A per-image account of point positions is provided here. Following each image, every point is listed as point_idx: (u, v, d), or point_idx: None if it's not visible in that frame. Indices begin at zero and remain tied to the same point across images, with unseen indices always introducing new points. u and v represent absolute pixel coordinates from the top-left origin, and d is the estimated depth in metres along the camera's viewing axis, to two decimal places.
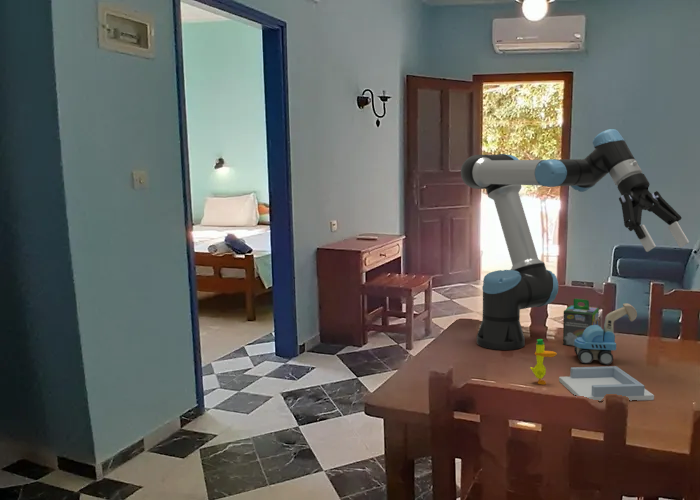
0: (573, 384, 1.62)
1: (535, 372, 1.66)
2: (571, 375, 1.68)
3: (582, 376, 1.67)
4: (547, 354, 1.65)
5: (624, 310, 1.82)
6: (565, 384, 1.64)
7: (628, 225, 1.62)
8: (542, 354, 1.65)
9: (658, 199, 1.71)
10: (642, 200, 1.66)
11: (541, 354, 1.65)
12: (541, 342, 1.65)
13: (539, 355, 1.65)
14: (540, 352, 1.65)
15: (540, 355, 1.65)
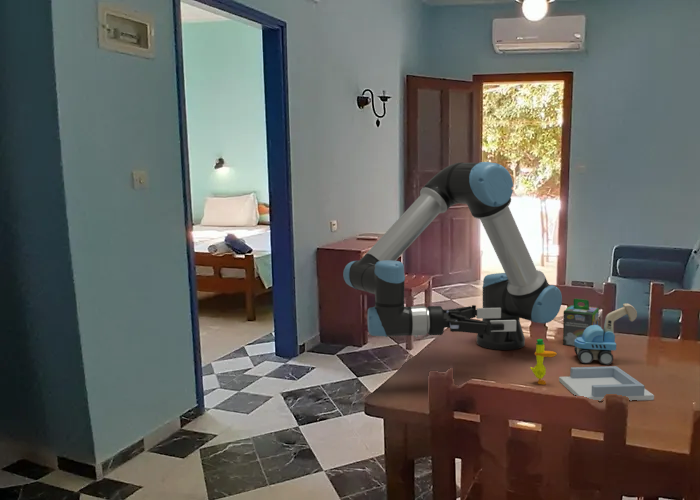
0: (573, 384, 1.62)
1: (535, 372, 1.66)
2: (571, 375, 1.68)
3: (582, 376, 1.67)
4: (547, 354, 1.65)
5: (624, 310, 1.82)
6: (565, 384, 1.64)
7: None
8: (542, 354, 1.65)
9: None
10: None
11: (541, 354, 1.65)
12: (541, 342, 1.65)
13: (539, 355, 1.65)
14: (540, 352, 1.65)
15: (540, 355, 1.65)
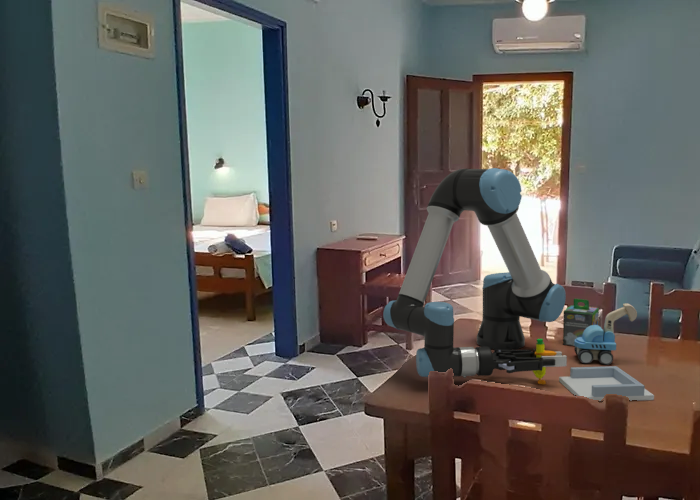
0: (573, 384, 1.62)
1: (535, 372, 1.66)
2: (571, 375, 1.68)
3: (582, 376, 1.67)
4: (547, 354, 1.65)
5: (624, 310, 1.82)
6: (565, 384, 1.64)
7: None
8: (542, 354, 1.65)
9: None
10: None
11: (541, 354, 1.65)
12: (541, 342, 1.65)
13: (539, 355, 1.65)
14: (540, 352, 1.65)
15: (540, 355, 1.65)
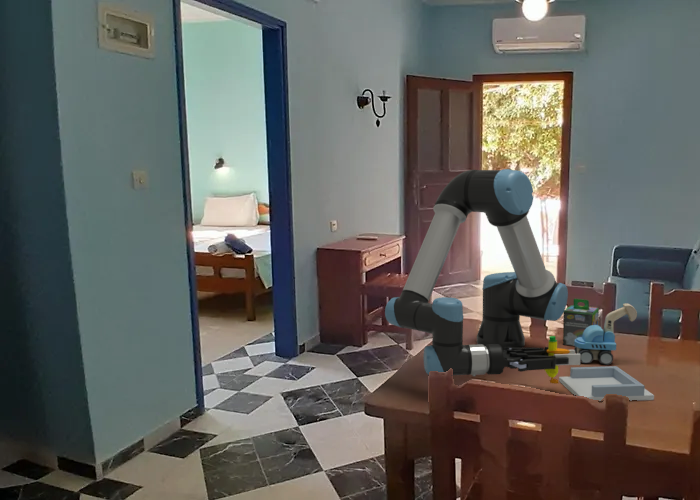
0: (573, 384, 1.62)
1: (547, 370, 1.60)
2: (571, 375, 1.68)
3: (582, 376, 1.67)
4: (560, 352, 1.58)
5: (624, 310, 1.82)
6: (565, 384, 1.64)
7: None
8: (555, 352, 1.58)
9: None
10: None
11: (554, 352, 1.58)
12: (553, 339, 1.59)
13: (551, 353, 1.59)
14: (553, 350, 1.58)
15: (553, 353, 1.59)
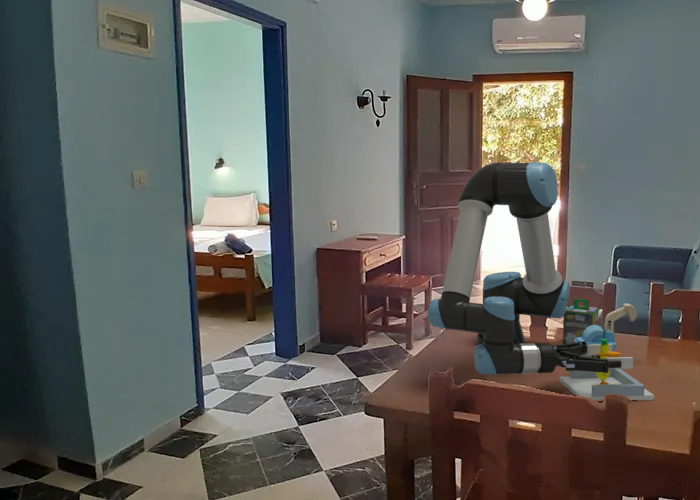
0: (573, 384, 1.62)
1: (599, 373, 1.60)
2: (571, 375, 1.68)
3: (582, 376, 1.67)
4: (612, 354, 1.59)
5: (624, 310, 1.82)
6: (565, 384, 1.64)
7: None
8: (607, 355, 1.59)
9: None
10: None
11: (606, 355, 1.59)
12: (606, 342, 1.60)
13: (604, 356, 1.60)
14: (605, 352, 1.59)
15: (605, 356, 1.60)
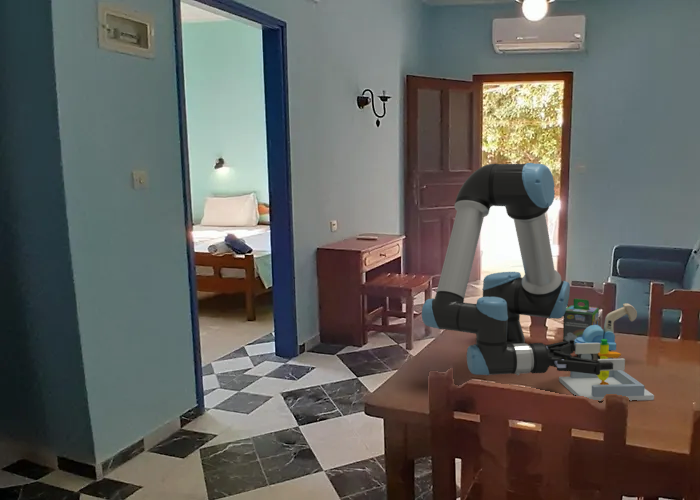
0: (573, 384, 1.62)
1: (599, 374, 1.60)
2: (571, 375, 1.68)
3: (582, 376, 1.67)
4: (612, 355, 1.59)
5: (624, 310, 1.82)
6: (565, 384, 1.64)
7: None
8: (607, 355, 1.59)
9: None
10: None
11: (606, 355, 1.59)
12: (606, 342, 1.59)
13: (604, 356, 1.60)
14: (605, 353, 1.59)
15: (605, 356, 1.59)
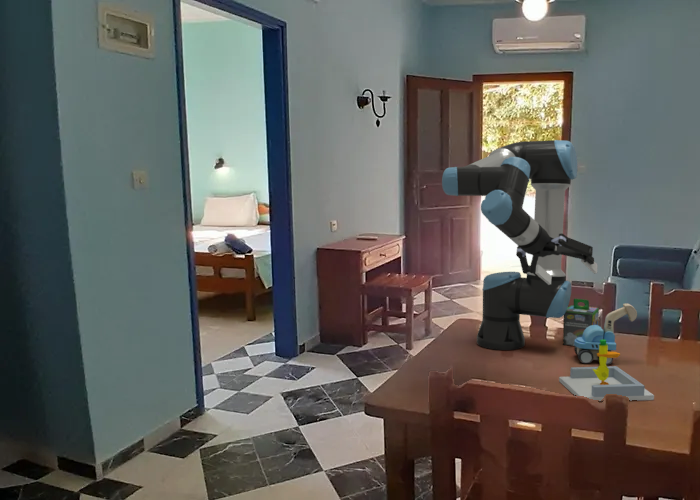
0: (573, 384, 1.62)
1: (598, 374, 1.60)
2: (571, 375, 1.68)
3: (582, 376, 1.67)
4: (611, 355, 1.59)
5: (624, 310, 1.82)
6: (565, 384, 1.64)
7: None
8: (606, 355, 1.59)
9: None
10: (536, 257, 1.64)
11: (605, 355, 1.59)
12: (604, 343, 1.59)
13: (603, 356, 1.59)
14: (604, 353, 1.59)
15: (604, 356, 1.59)
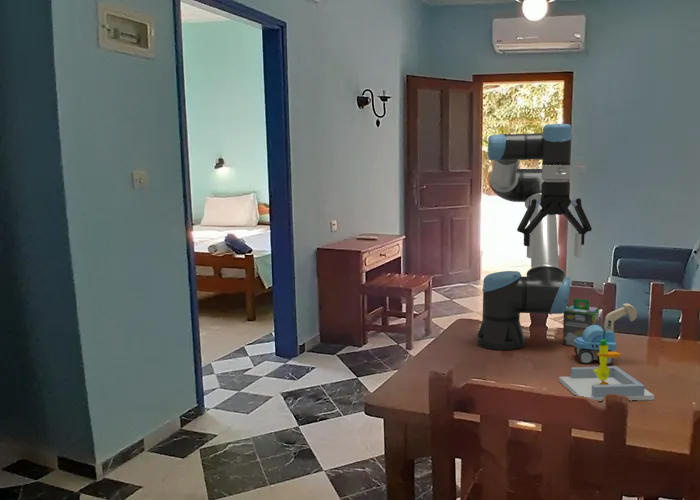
0: (573, 384, 1.62)
1: (598, 374, 1.60)
2: (571, 375, 1.68)
3: (582, 376, 1.67)
4: (611, 355, 1.59)
5: (624, 310, 1.82)
6: (565, 384, 1.64)
7: (518, 231, 1.75)
8: (606, 355, 1.59)
9: (576, 207, 1.74)
10: (548, 209, 1.73)
11: (605, 355, 1.59)
12: (605, 343, 1.59)
13: (603, 356, 1.59)
14: (604, 353, 1.59)
15: (604, 356, 1.59)
